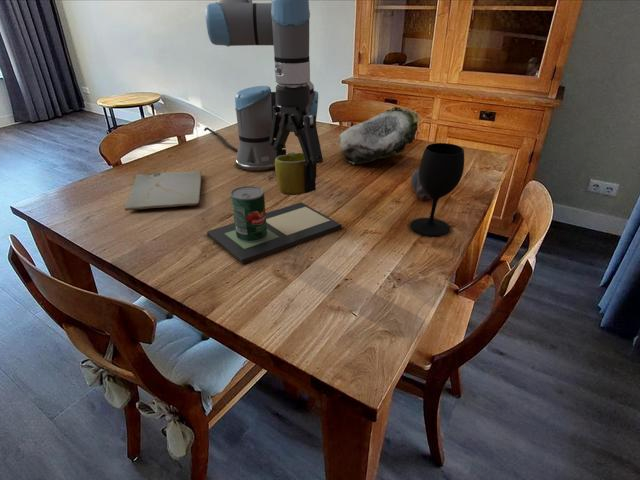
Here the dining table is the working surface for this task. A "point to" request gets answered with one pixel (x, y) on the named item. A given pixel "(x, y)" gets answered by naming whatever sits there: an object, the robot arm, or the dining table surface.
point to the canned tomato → (249, 213)
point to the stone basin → (379, 136)
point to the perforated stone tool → (418, 186)
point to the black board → (276, 232)
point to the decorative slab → (164, 190)
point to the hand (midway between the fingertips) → (295, 183)
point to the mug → (291, 173)
